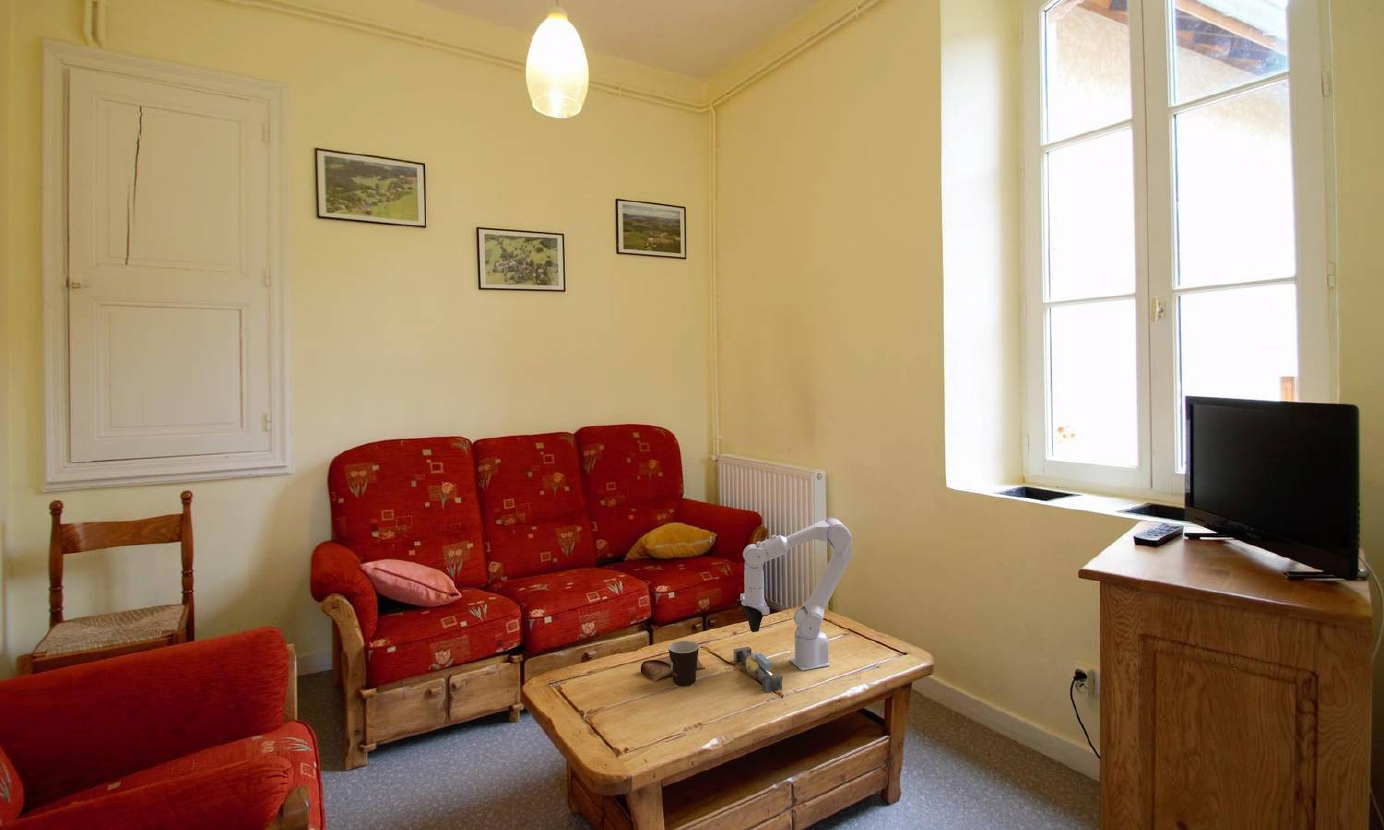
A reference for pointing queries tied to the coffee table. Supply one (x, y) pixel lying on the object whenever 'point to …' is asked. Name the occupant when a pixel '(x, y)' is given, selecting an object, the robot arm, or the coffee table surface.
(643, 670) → the sunglasses case
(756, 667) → the valve body
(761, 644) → the coffee table surface
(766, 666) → the lever
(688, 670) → the coffee mug
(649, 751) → the coffee table surface
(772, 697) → the coffee table surface
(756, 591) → the robot arm
